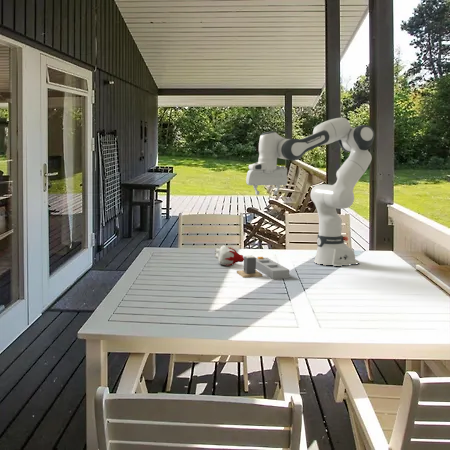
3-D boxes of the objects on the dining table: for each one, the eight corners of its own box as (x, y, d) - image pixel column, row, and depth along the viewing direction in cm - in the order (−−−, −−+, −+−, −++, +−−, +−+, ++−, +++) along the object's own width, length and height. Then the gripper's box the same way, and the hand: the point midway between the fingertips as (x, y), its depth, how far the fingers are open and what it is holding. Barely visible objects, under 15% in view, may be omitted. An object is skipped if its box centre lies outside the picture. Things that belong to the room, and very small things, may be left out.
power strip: (262, 262, 270) (262, 253, 269) (289, 278, 240) (289, 268, 239) (247, 263, 267) (247, 254, 266) (272, 279, 237) (272, 269, 236)
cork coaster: (255, 271, 250) (255, 269, 250) (262, 276, 242) (262, 274, 241) (236, 272, 247) (236, 270, 247) (243, 277, 239) (243, 275, 239)
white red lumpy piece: (213, 260, 269) (243, 265, 268) (210, 265, 258) (241, 270, 257) (216, 243, 268) (246, 247, 267) (213, 247, 257) (244, 252, 256)
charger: (252, 271, 247) (252, 255, 246) (255, 273, 243) (256, 257, 242) (243, 271, 246) (243, 255, 244) (246, 273, 242) (247, 257, 240)
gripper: (284, 165, 266) (283, 193, 268) (245, 165, 259) (244, 194, 261) (290, 166, 260) (288, 195, 262) (250, 166, 253) (249, 195, 256)
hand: (266, 194), depth 262 cm, fingers open, 8 cm apart
